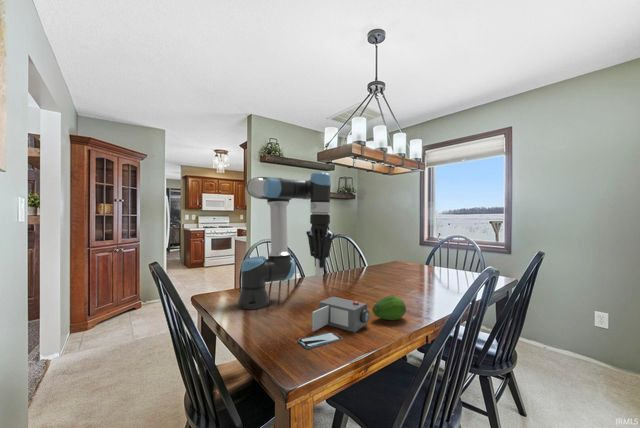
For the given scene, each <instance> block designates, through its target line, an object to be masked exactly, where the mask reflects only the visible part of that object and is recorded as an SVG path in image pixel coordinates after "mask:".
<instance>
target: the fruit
mask: <svg viewBox="0 0 640 428" xmlns="http://www.w3.org/2000/svg"><path fill="white" fill-rule="evenodd" d="M371 310H372V314H374V316H375V317H377V318H379V319H383V320H387V321H397V320H400V319H401V318H403V317H404V315H405V314H406V312H407V307H406V304H405V302H404V301H403V300H402V299H401V298H400V297H398V296H395V295H389V296H385V297H383V298H381V299H380V300H379V301H377V302H376V303H375V304H374V305H373V306H372V308H371Z"/></svg>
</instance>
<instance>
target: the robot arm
mask: <svg viewBox="0 0 640 428" xmlns="http://www.w3.org/2000/svg"><path fill="white" fill-rule="evenodd" d="M331 185H332V183H331V175H330V174H329V173H327V172H320V171H319V172H312V173H311V175H310V179H309V180H304V179H290V178H289V179H288V178H282V177H271V176H270V177H267V176H257V177H256V176H255V177H253V178H251V179H249V180H248V181H247V184H246V191H247V194H248V195H249V196H251V197H252V198H254V199H258V200H266V203H267V205H268V206H269V208H270V209H269V210H270V212H269V214H270V216H269V217H270V253H268V257H267V258H266V256H261V255H260V256H253V257H249V258H248V257H247V258H246V259H244V260H243V261H241V269H240V271H241V291H240V294H239V298H238V300H237V307H238V308H239V309H243V310H259V309H262V308H266V307H268V306H269V304H270V299H269V295H268V292H267V288H266V283H271V282H272V283H273V282H284V281H289V280H291V279H293V277H294V274H295V270H296V262H295V258H293V257H292V256H291V253H290V252H289V251H288V219H287V218H288V215H287V213H288V211H287V206H288V205H289V204H290V201H291V200H293V199H299V200H300V199H301V200H309V201H310V203H309V204H310V210H309V211H310V213H311V214H310V215H309V217H310V218H309V223H310V225H311V227H310V230H307V231H306V233H305V234H306V236H307V239H308V245H309V246H308V247H309V254H310V256H311V257H313V259H314V267H315V277H318V278H319V277H323V276H324V267H325V259H328V258H330V252H331V247H332V243H333V242H332V241H333V239H334V237H335V233H334V232H331V231H330V226H329V225H330V224H331V215H330V213H331Z"/></svg>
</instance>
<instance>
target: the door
mask: <svg viewBox="0 0 640 428" xmlns="http://www.w3.org/2000/svg"><path fill="white" fill-rule="evenodd" d="M327 324H329V305H327V306H325V307H323V308H321V309H316V310H314V311H312V312H311V327H312V328H311V329H312V330H311V331H312V332H315V331H317V330H319V329H320V328H323V327H325V326H326V325H327ZM327 326H328V325H327Z"/></svg>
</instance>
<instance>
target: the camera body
mask: <svg viewBox="0 0 640 428" xmlns="http://www.w3.org/2000/svg"><path fill="white" fill-rule="evenodd" d="M327 305H329V324H327V326H331V327H333V328H339V329H342V330H344V331H347V332H351V333H357V332H358V331H359V330H361V329H363V328H364V327H365V326H367V325H368V322H369V320H370V311H369V310H368V303H365V302H360V301H358V300H351V299H346V298H341V297H338V296H337V297H336V296H329V297H328V298H325V299H323V300H321V301H319V302H318V307H319V309H321V308H323V307H325V306H327Z"/></svg>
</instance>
